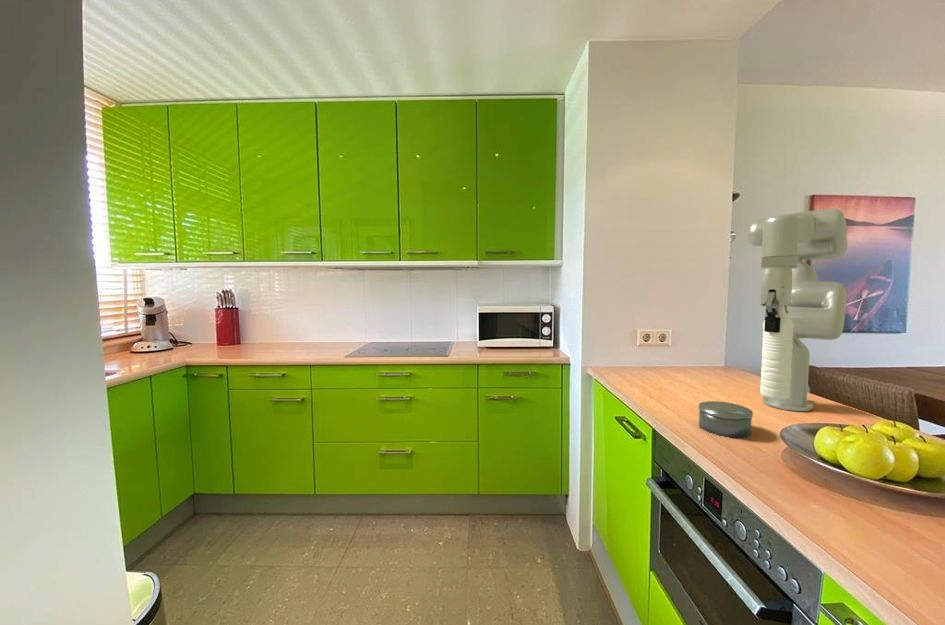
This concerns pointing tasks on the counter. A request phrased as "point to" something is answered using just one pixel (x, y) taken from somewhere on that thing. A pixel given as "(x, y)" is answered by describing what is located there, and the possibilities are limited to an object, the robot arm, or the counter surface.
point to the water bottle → (777, 359)
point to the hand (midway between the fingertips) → (775, 329)
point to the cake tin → (725, 419)
